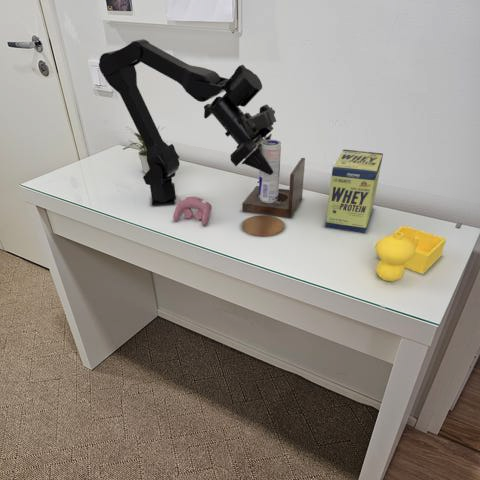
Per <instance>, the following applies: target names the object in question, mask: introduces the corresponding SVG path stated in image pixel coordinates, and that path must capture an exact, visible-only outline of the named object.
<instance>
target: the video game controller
mask: <svg viewBox="0 0 480 480" xmlns="http://www.w3.org/2000/svg"><path fill="white" fill-rule="evenodd" d="M193 209H195V210H196V211H195V213H194V212H193ZM212 209H213V207H212V204H211V203H210V202H208V201H207V200H205V199H204V198H201V197H198V196H197V197H196V196H187V197H181V198H180V199H179V200H178V201H177V203H176V206H175V209H174V211H173V216H172V217H173V222H178V221H179V220H180V218H181V217H182V215H183V216H184V217H185V218H187V219H191V218H193V216H194V218H195V219H196V220H198V221H201V224H202V226H203V227H204V226H206V225H207V224H208V222H209V220H210V215H211V212H212Z"/></svg>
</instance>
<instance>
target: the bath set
mask: <svg viewBox="0 0 480 480" xmlns="http://www.w3.org/2000/svg"><path fill="white" fill-rule="evenodd" d="M446 241H447V238H446V237H445V238H444V237H442V236H440V235H435V234H433V233H429V232H426V231H422V230H419V229H416V228H412V227H410V226H407V225H403V224H402V226H400V227H399V228H398V229H397V230H395V231H394V232H393V233H392V234H389V235H386V236H384V237H382V238H380V239H379V240H378V241H377V243H375V252H376V255H377V257H378V258H379V259H380V260H379V262H378V263H377V265H376V274H377V275H378V276H379V278H380V279H382V280H383V281H385V282H394V281H398V280H399V279H401V278H402V277H403V276H404V273H405V270H406V269H407V270H409V271H413V272H416V273H419V274H421V275H424V274H425V273H426V272H427V271H428V270H429V269H430V268H431V267H432V266H433V265H434V264H435V263H436V262H437V261H438V260H439V259H440V258H441V257H442V254H443V252H444V251H443V250H444V249H445V244H446Z"/></svg>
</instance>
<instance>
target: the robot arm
mask: <svg viewBox="0 0 480 480" xmlns="http://www.w3.org/2000/svg"><path fill="white" fill-rule="evenodd" d="M140 63H142V64H144V65H146V66H147V67H149V68H151V69H153V70H155V71H157V72H158V73H160V74H161V75H163V76H166V77H167V78H168V79H171V80H172V81H174V82H176V83H178V84H179V85H180V86H182V88H183V90H184V91H185V92H186V94H188V95H189V96H190V97H192V98H193V99H194V100H196V101H197V102H199V103H204V102H207V101H209V100H211V99H213V98H214V99H213V100H212V102H210V103H206V104H205V105H204V106H203V109H204V112H203V118H204V119H208V118H209V117H210V116H213V117H214V118H215V119H216V120H217V122H219V123H220V125H221V126H222V127H223V129H224V130H225V131H226V132H225V133H224V134H225V136H226V137H231V138H232V139H233V140H234V142H235V143H236V144H237V146H236V149H235V150H234V151H232V153H231V154H230V162H231V163H232V164H233V165H234V166H235V167H237V166H238V165H239V164H240V163H241V165H246V166H249V167H251V168H253V169H256V170H258V171H259V172H260V171H263V172H265V173H267V174H269V175H271V174H272V173H273V170H272V168H271V166H270V165H269V163H268V162H267V160H266V159H265V157H264V156H263V154H262V144H260V142H261V141H263V140H272V139H271V138H272V133H271V132H272V131H273V130H274V127H273V125H274V124H275V123H276V122H277V119H276V116H275V114H276V111H275V109H273V107H270V106H269V105H268V104H263V105H261V106H260V107H259V112H258V113H256V114H254V115H251V114H250V113H249V112H245V113H244V112H243V110H242V109H241V108H240V107H242V108H245V107H247V105H249V103H250V102H251V101H252V100H253V99H254V98H255V97H256V96H257V94H258V93H259V92H260V91H262V89H263V84H262V81H261V79H260V77H259V76H258V75H257V74H256V73H254V72H253V71H252V70H251V69H249V68H247V67H246V65H244V64H241V65H238V67H237V68H236V69H235V70H234V72H233V74H232V75H231V76H230V77H229V78H227V77H224V76H223V77H222V76H220V74H219V73H218V72H217V71H214V70H212V69H208V68H205V67H202V66H197V65H196V66H195V65H191V64H188V63H186V62H184V61H183V60H181V59H179V58H177V57H176V56H173V55H172V54H170V53H168V52H166V51H165V50H163V49H161V48H159V47H157V46H155V45H154V44H151V43H150V41H148V40H146V39H144V38H142V39H137V40H132V41H131V42H129V44H127V45H126V46H124V47H122V48H120V49H117V50H112V51H109V52H104V53H102V54H101V55H100V57H99V62H98V69H99V71H100V73H101V74H102V76H103V77H104V79H105V80H106V82H107V84H108V85H109V86H110V87H111V88H112V89H114V90H115V91H116V92H117V93H118V94H119V96H120V97H121V99H122V101H123V103H124V106H125V107H126V110H127V112H128V114H129V117H130V118H131V120H132V122H133V124H134V126H135V128H136V130H137V132H138V134H139V135H140V136H141V138H142V140H143V142H144V144H145V146H146V150H147V163H148V166H149V168H150V169H149V171H148V172H147V173H144V175H143V176H142V179H143V181H144V183H145V185H148V186H149V189H150V193H151V194H150V196H151V206H152V207H153V206H169V205H175V203H176V202H175V201H176V199H177V196H176V185H175V183H174V182H173V179H172V178H175V176H176V174H177V172H178V170H179V168H180V165H181V164H180V163H181V162H180V157H181V156H179V155H178V153H177V151H176V148H175V145H174V144H173V143H170V144H168V143H166V142H165V141H164V140H163V138H162V136H161V133H160V131H159V129H158V127H157V126H156V124H155V121H154V119H153V116H152V114H151V112H150V110H149V109H148V106H147V104H146V102H145V100H144V97H143V95H142V93H141V92H140V89H139V87H138V78H137V77H138V76H137V70H136V66H137V65H139V64H140ZM224 92H225V93H224ZM222 93H224V94H223V95H222V96H218V95H220V94H222ZM157 129H158V130H157Z"/></svg>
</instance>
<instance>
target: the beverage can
mask: <svg viewBox="0 0 480 480" xmlns="http://www.w3.org/2000/svg"><path fill="white" fill-rule="evenodd" d="M260 144H262V154H263V156H264V157H265V159H266V160H267V162H268V163H269V165H270V166H271V168H272V170H273V173H272V174H271V175H269V174H267V173H265V172H263V171H260V170H259V171H258V172H259V177H258V178H259V180H258V186H259V199H260V200H261V201H262V202H264V203H273V202H277V201H276V200H277V199H278V192H279V189H280V171H281V153H282V145H281V144H282V143H281V141H280V140H277V139H271V140H263V141H261V142H260Z"/></svg>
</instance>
